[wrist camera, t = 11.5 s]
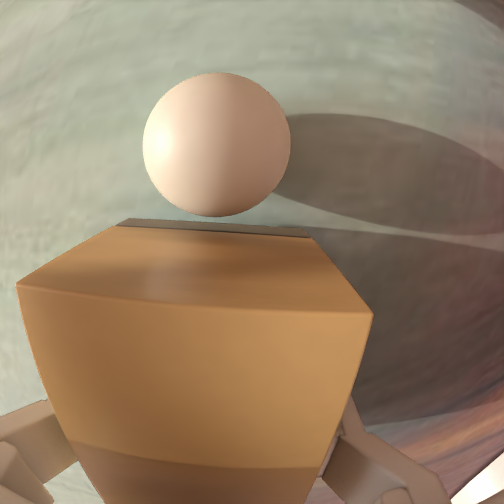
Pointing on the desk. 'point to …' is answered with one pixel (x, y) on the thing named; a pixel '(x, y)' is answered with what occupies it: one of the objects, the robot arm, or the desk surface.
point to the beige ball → (216, 144)
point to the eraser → (196, 359)
